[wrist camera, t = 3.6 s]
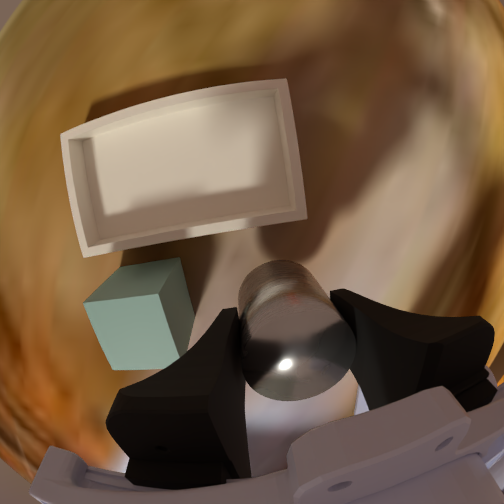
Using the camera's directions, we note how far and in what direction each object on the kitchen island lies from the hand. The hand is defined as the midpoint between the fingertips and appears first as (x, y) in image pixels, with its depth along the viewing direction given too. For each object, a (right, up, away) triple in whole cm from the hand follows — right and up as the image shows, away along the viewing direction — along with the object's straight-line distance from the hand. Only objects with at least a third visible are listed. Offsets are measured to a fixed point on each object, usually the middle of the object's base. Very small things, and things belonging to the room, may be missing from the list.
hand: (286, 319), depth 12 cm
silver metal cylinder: (0, +1, +2) cm, 2 cm away
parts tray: (-5, +7, +2) cm, 10 cm away
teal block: (-7, 0, +5) cm, 9 cm away
